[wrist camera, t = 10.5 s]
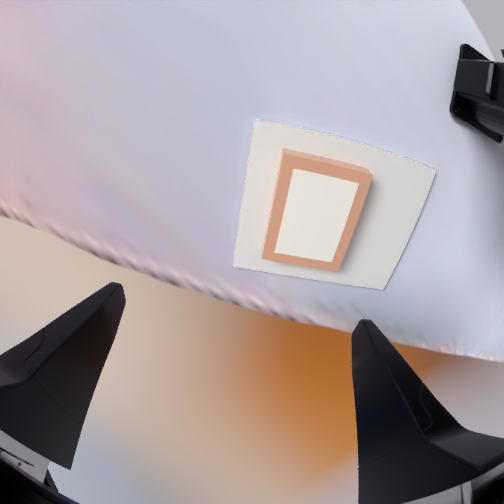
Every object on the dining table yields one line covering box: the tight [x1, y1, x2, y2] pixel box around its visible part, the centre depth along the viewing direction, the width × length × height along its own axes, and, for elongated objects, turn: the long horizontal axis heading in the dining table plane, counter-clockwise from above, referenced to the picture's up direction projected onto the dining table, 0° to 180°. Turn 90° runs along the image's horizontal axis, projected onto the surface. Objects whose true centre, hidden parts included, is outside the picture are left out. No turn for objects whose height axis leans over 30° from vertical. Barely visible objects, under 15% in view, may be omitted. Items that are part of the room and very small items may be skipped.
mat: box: [233, 119, 437, 290], centre depth 20 cm, size 14×12×1 cm
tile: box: [262, 148, 373, 272], centre depth 19 cm, size 2×8×6 cm
